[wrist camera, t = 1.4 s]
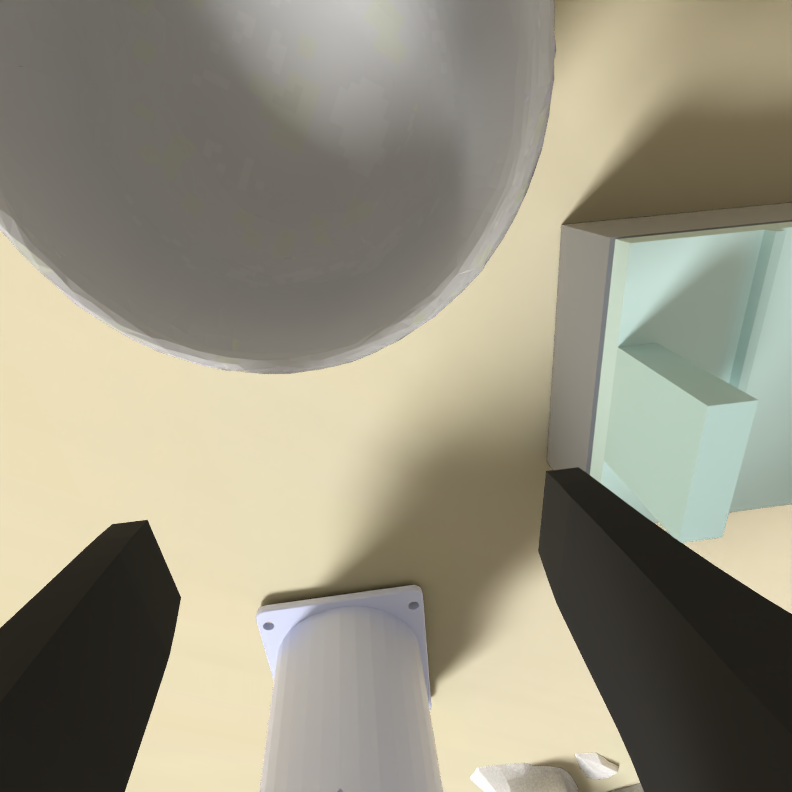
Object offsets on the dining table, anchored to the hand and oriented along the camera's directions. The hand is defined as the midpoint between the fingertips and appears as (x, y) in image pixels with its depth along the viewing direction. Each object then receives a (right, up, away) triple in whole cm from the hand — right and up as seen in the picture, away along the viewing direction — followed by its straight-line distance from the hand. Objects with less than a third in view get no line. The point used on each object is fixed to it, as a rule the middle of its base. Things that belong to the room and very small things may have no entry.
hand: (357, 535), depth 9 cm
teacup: (-4, +12, +6) cm, 14 cm away
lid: (+13, +3, +7) cm, 16 cm away
